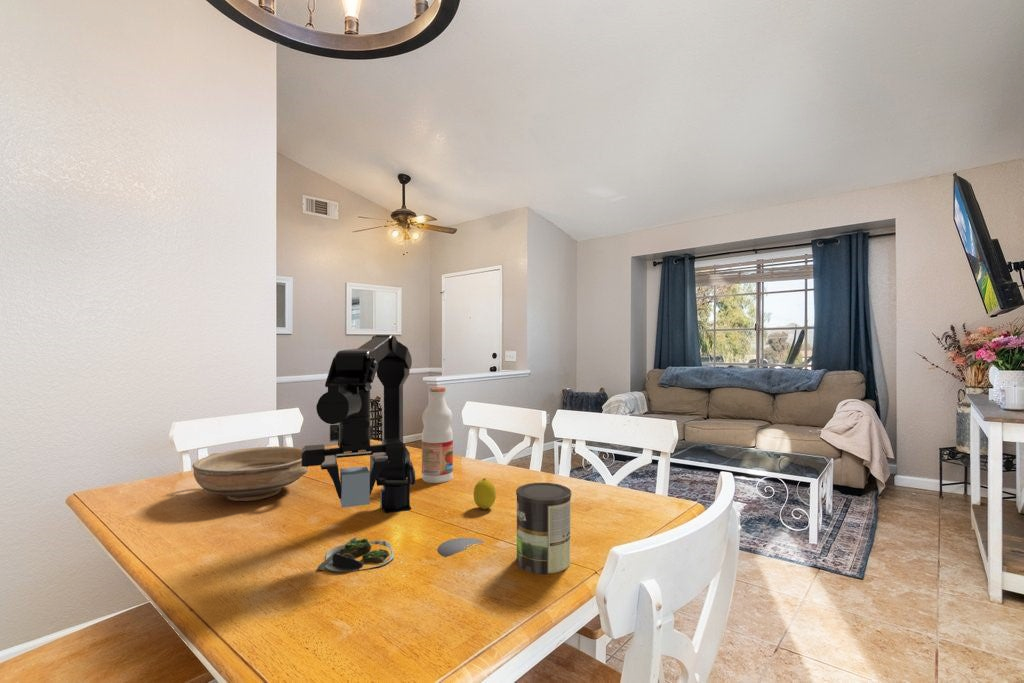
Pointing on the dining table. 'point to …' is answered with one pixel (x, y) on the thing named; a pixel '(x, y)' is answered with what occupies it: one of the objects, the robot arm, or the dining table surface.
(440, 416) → the fruit juice
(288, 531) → the dining table surface
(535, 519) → the coffee can
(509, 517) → the dining table surface
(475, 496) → the lemon
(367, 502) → the slate block
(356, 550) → the salad plate
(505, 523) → the dining table surface
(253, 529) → the dining table surface
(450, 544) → the gray coaster
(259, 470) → the ceramic bowl
